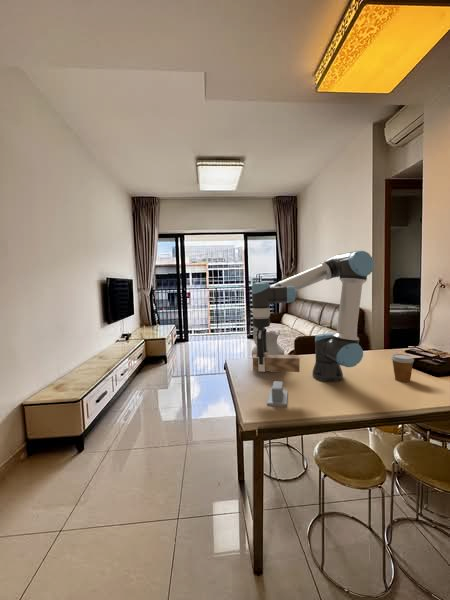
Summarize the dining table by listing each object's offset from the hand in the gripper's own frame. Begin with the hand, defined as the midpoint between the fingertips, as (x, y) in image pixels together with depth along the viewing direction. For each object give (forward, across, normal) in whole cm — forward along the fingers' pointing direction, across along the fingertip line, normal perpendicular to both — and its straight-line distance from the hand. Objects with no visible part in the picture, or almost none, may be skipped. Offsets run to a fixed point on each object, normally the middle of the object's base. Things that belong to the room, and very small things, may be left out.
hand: (262, 368), depth 119 cm
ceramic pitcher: (+13, -41, -3) cm, 43 cm away
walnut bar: (0, -1, +6) cm, 6 cm away
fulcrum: (+13, 0, +6) cm, 15 cm away
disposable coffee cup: (+13, -32, +65) cm, 74 cm away
